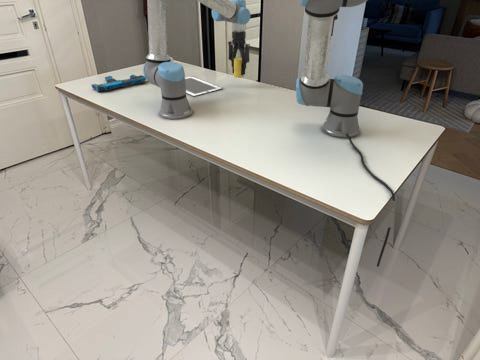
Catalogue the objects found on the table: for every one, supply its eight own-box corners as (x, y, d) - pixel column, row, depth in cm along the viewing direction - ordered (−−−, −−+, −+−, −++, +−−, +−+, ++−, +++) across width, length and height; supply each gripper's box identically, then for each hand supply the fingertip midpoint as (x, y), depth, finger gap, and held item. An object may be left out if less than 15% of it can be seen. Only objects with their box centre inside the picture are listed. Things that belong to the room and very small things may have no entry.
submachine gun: (137, 69, 223) (155, 75, 206) (138, 75, 225) (156, 81, 208) (84, 79, 204) (99, 87, 188) (85, 85, 206) (101, 94, 190)
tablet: (164, 83, 207) (164, 82, 207) (191, 76, 218) (191, 76, 218) (193, 96, 187) (193, 95, 187) (222, 88, 198) (222, 88, 198)
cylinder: (242, 74, 201) (242, 57, 195) (244, 77, 196) (244, 59, 191) (232, 75, 200) (232, 57, 194) (235, 78, 195) (235, 60, 190)
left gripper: (256, 31, 182) (255, 75, 195) (229, 28, 192) (230, 69, 204) (248, 33, 177) (248, 78, 190) (221, 30, 187) (222, 72, 199)
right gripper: (310, -20, 159) (306, 29, 171) (333, -17, 139) (326, 38, 150) (325, -20, 160) (320, 28, 172) (350, -17, 140) (342, 38, 152)
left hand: (238, 73), depth 197 cm, fingers closed on cylinder, 6 cm apart
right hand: (323, 33), depth 161 cm, fingers open, 13 cm apart
